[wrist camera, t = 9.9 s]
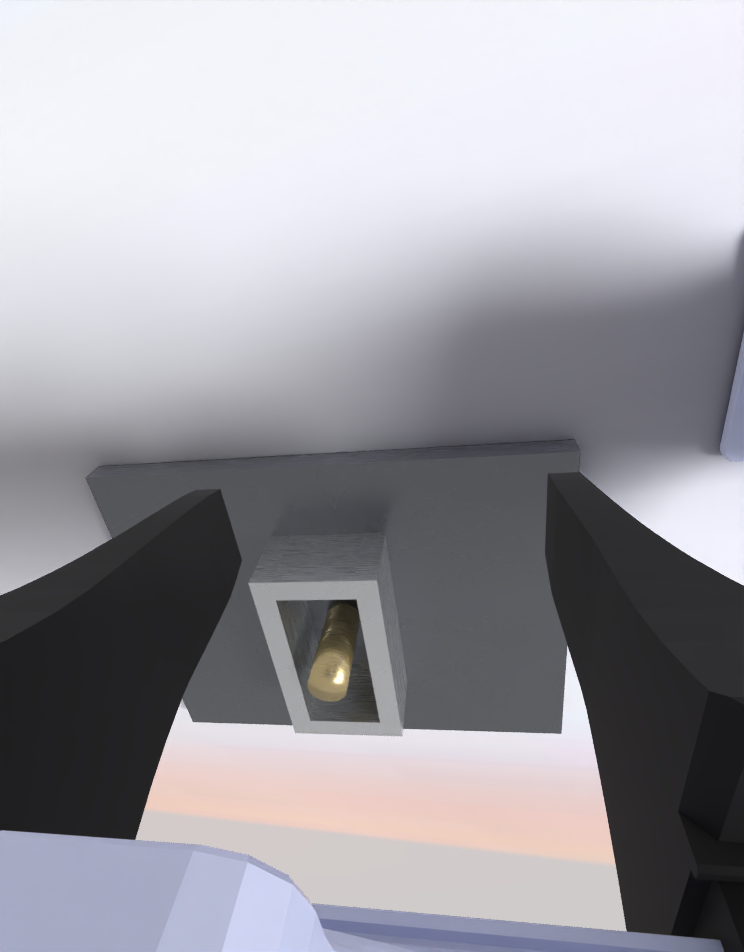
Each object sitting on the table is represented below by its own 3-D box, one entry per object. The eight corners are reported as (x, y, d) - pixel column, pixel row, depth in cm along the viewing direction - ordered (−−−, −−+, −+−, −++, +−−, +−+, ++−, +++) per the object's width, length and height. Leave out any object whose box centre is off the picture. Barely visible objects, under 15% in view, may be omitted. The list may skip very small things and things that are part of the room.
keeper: (574, 439, 20) (607, 512, 16) (557, 716, 28) (577, 815, 24) (98, 466, 24) (21, 533, 20) (200, 706, 32) (160, 792, 27)
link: (270, 536, 23) (248, 582, 21) (385, 532, 22) (376, 580, 20) (309, 679, 28) (295, 733, 25) (407, 681, 27) (402, 736, 24)
